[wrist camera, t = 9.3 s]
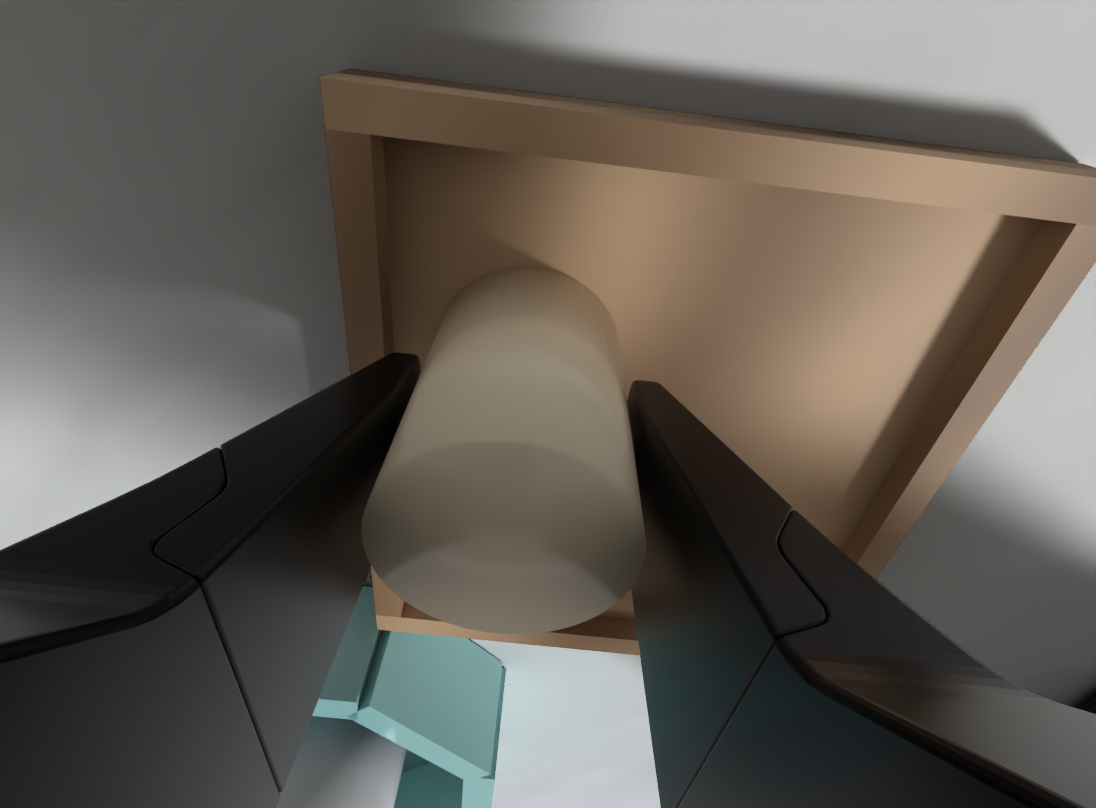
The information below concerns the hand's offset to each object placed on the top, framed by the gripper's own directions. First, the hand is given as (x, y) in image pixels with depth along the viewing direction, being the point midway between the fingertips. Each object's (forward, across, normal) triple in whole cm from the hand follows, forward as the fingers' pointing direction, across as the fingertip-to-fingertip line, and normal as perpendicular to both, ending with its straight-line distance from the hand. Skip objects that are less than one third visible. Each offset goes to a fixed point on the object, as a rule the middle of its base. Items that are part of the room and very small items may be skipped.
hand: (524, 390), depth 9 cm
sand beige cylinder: (+1, 0, 0) cm, 1 cm away
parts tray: (+2, -2, +2) cm, 4 cm away
